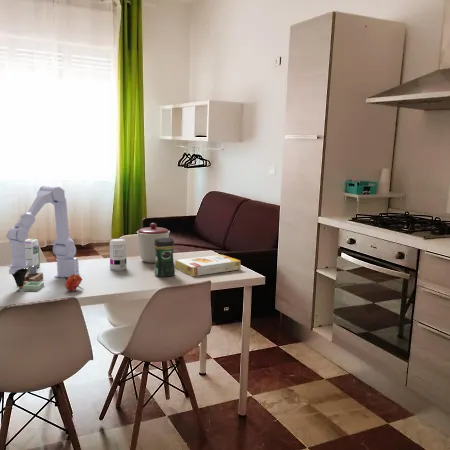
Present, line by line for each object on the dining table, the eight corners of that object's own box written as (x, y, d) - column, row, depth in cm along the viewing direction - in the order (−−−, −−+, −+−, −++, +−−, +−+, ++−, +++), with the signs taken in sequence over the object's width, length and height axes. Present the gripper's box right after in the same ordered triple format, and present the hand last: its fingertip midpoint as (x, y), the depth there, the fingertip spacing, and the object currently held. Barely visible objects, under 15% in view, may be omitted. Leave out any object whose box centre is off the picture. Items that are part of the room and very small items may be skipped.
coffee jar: (171, 272, 238) (171, 235, 235) (176, 276, 231) (176, 238, 228) (152, 274, 234) (152, 237, 231) (156, 278, 227) (156, 239, 224)
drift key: (30, 284, 213) (30, 278, 212) (25, 288, 207) (25, 282, 207) (24, 284, 213) (24, 278, 212) (18, 287, 207) (18, 282, 207)
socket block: (43, 279, 222) (42, 272, 221) (33, 285, 211) (33, 279, 210) (28, 278, 222) (27, 272, 221) (18, 285, 211) (17, 278, 210)
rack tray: (44, 286, 210) (43, 281, 209) (38, 290, 203) (38, 285, 203) (29, 286, 210) (29, 281, 209) (23, 290, 203) (23, 285, 203)
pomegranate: (81, 292, 209) (62, 279, 207) (90, 280, 208) (71, 267, 206) (76, 299, 202) (57, 286, 200) (86, 286, 201) (66, 273, 199)
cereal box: (241, 260, 244) (192, 266, 229) (241, 270, 244) (192, 277, 230) (221, 253, 261) (174, 258, 246) (221, 263, 261) (174, 269, 247)
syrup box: (33, 269, 239) (32, 241, 237) (23, 268, 240) (21, 240, 238) (40, 266, 245) (38, 239, 242) (29, 266, 246) (28, 238, 244)
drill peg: (37, 279, 220) (37, 265, 219) (35, 281, 217) (34, 266, 216) (31, 279, 220) (30, 265, 219) (28, 281, 217) (27, 266, 216)
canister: (172, 263, 256) (172, 225, 252) (138, 265, 251) (137, 226, 248) (167, 256, 273) (167, 220, 270) (135, 258, 268) (135, 221, 265)
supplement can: (106, 269, 241) (106, 240, 239) (116, 266, 248) (115, 238, 246) (120, 271, 238) (119, 242, 236) (129, 267, 245) (129, 239, 243)
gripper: (16, 251, 210) (18, 281, 212) (1, 258, 196) (2, 290, 198) (32, 251, 210) (33, 281, 212) (18, 259, 196) (19, 291, 198)
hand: (20, 286), depth 205 cm, fingers closed
